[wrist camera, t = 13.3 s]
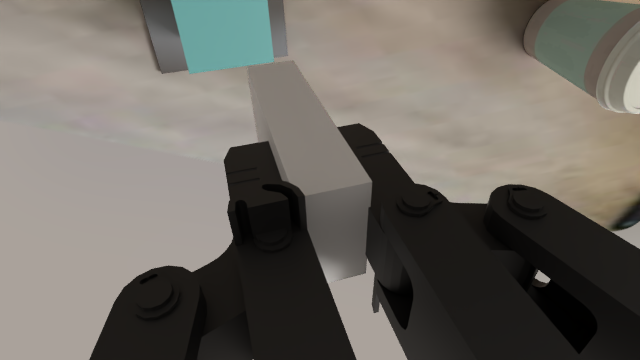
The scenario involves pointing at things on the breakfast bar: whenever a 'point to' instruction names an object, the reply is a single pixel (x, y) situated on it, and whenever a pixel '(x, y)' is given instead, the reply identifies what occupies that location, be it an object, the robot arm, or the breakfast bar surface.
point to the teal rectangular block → (223, 33)
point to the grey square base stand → (169, 41)
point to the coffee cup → (591, 48)
